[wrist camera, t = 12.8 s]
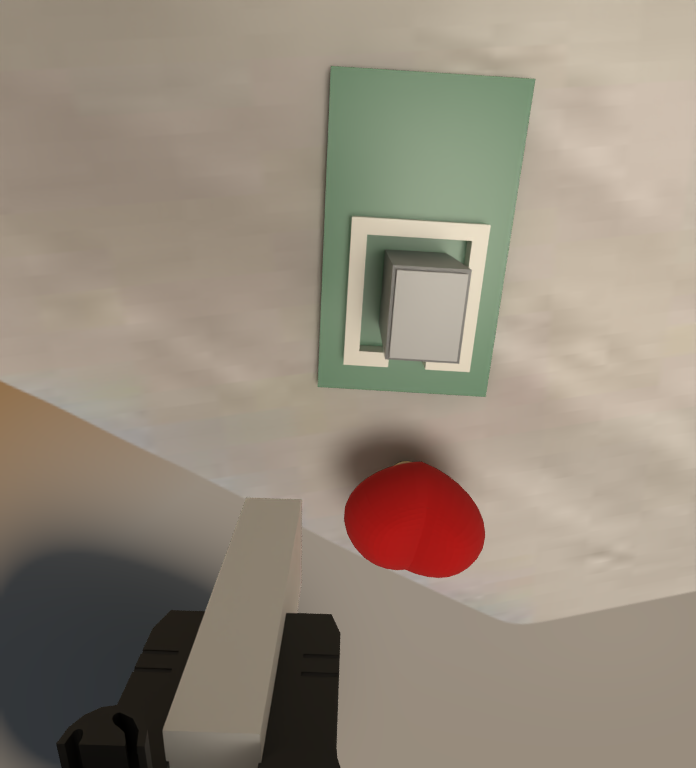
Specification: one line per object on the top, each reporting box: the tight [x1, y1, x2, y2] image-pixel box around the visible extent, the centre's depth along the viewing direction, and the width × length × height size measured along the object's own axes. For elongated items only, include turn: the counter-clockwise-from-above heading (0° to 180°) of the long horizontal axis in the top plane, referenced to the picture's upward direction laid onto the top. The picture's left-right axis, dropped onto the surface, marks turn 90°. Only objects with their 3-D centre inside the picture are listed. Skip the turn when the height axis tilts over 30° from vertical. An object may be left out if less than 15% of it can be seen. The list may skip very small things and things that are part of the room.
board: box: [318, 66, 535, 397], centre depth 34 cm, size 20×12×3 cm, turn 177°
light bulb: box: [344, 461, 485, 578], centre depth 37 cm, size 9×7×10 cm
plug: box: [379, 249, 472, 364], centre depth 31 cm, size 6×4×8 cm, turn 177°
